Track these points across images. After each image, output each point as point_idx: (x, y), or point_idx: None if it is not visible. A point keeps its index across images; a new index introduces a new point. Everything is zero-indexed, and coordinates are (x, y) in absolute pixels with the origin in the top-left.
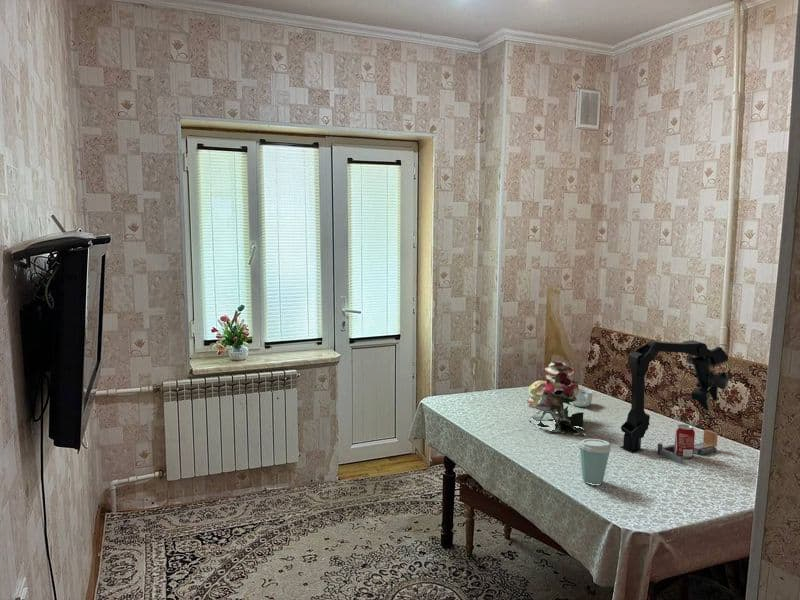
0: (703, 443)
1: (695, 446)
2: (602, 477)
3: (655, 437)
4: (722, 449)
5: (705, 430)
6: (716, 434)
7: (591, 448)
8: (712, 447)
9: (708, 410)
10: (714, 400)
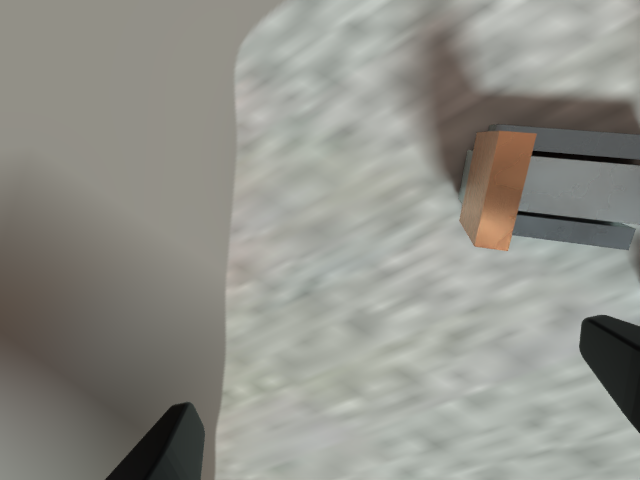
0: None
1: (627, 211)
2: None
3: (532, 454)
4: (395, 135)
5: (511, 236)
6: (513, 132)
7: None
8: None
9: (600, 315)
10: (203, 426)
